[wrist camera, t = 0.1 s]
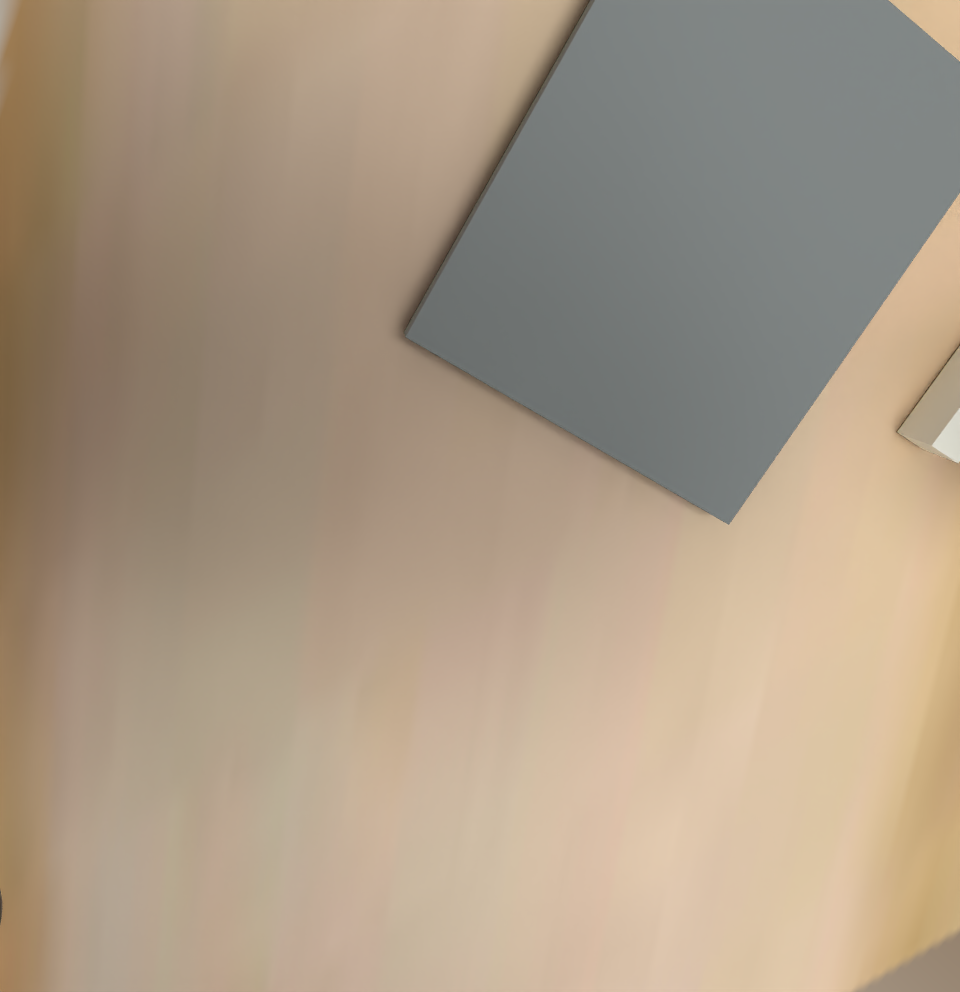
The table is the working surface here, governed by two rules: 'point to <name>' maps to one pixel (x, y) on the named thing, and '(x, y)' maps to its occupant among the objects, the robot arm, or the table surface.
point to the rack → (938, 415)
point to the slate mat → (700, 227)
